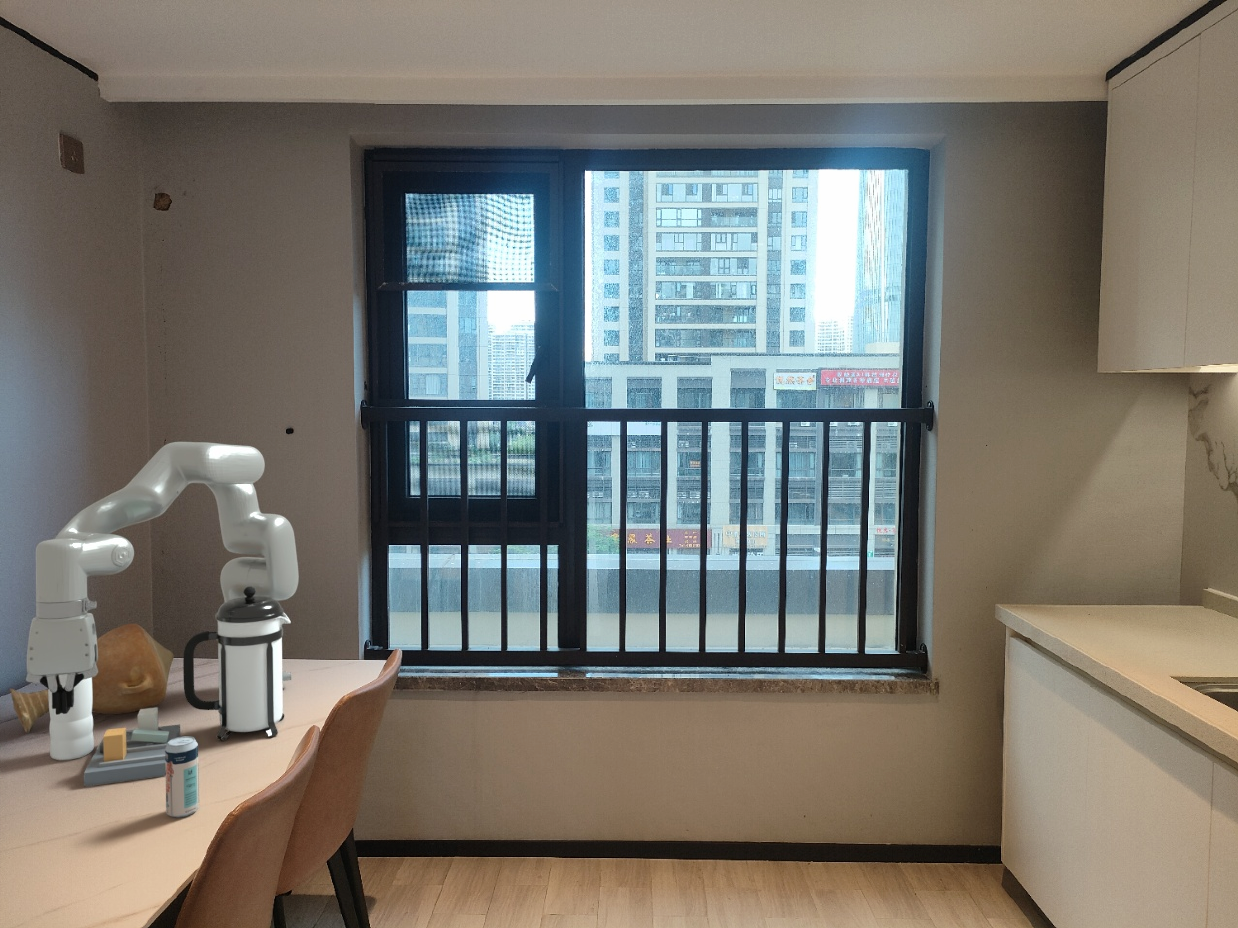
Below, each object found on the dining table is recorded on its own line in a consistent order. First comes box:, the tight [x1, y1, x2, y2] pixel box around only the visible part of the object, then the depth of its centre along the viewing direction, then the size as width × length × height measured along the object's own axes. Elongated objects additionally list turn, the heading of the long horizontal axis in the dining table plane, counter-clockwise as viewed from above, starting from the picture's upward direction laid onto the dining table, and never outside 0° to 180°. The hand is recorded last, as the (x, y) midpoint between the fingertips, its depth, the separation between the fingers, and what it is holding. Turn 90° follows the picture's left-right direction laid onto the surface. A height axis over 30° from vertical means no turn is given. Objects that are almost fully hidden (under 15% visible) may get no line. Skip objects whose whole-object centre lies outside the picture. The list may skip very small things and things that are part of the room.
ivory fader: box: [137, 706, 159, 731], centre depth 164 cm, size 3×4×5 cm
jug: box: [9, 622, 174, 734], centre depth 180 cm, size 20×19×30 cm
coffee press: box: [182, 586, 291, 742], centre depth 173 cm, size 17×16×30 cm
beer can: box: [165, 735, 200, 818], centre depth 138 cm, size 5×5×12 cm
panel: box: [83, 724, 181, 787], centre depth 159 cm, size 13×20×4 cm, turn 22°
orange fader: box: [102, 727, 127, 762], centre depth 153 cm, size 3×4×5 cm
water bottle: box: [47, 674, 95, 761], centre depth 160 cm, size 7×7×25 cm
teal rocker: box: [131, 728, 169, 743], centre depth 160 cm, size 6×2×1 cm, turn 112°
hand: (63, 711), depth 149 cm, fingers closed
